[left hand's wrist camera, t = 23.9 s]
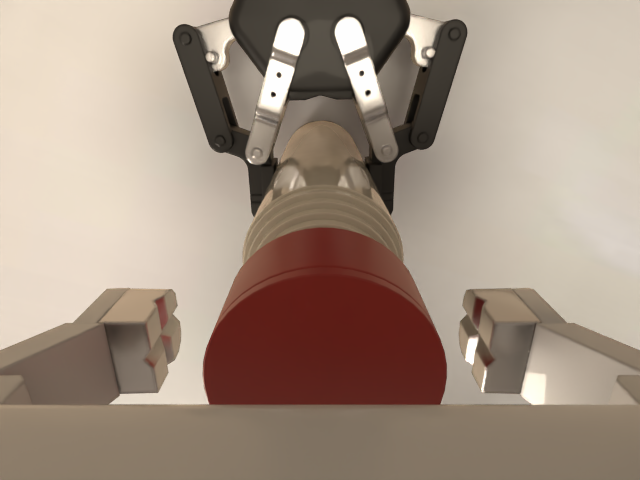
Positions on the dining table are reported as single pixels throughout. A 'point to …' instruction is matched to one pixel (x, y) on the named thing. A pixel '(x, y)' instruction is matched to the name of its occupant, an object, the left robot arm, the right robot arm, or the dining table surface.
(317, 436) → the left robot arm
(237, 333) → the cap
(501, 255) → the dining table surface
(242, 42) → the right robot arm
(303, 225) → the bottle
